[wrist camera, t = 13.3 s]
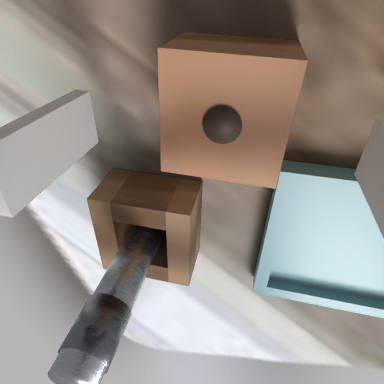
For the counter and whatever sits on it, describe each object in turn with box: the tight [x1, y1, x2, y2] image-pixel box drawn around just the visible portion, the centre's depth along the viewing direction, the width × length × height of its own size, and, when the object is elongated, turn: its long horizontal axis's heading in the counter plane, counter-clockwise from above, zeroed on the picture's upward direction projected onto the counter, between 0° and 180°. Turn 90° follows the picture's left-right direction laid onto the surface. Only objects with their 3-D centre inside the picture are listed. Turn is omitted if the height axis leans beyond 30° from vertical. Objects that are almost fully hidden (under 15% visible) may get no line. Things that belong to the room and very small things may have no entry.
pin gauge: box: [48, 225, 166, 384], centre depth 19 cm, size 3×3×13 cm
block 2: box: [157, 32, 308, 189], centre depth 15 cm, size 6×6×5 cm
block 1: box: [87, 168, 203, 286], centre depth 22 cm, size 7×7×4 cm
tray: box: [253, 160, 384, 318], centre depth 21 cm, size 12×12×2 cm
